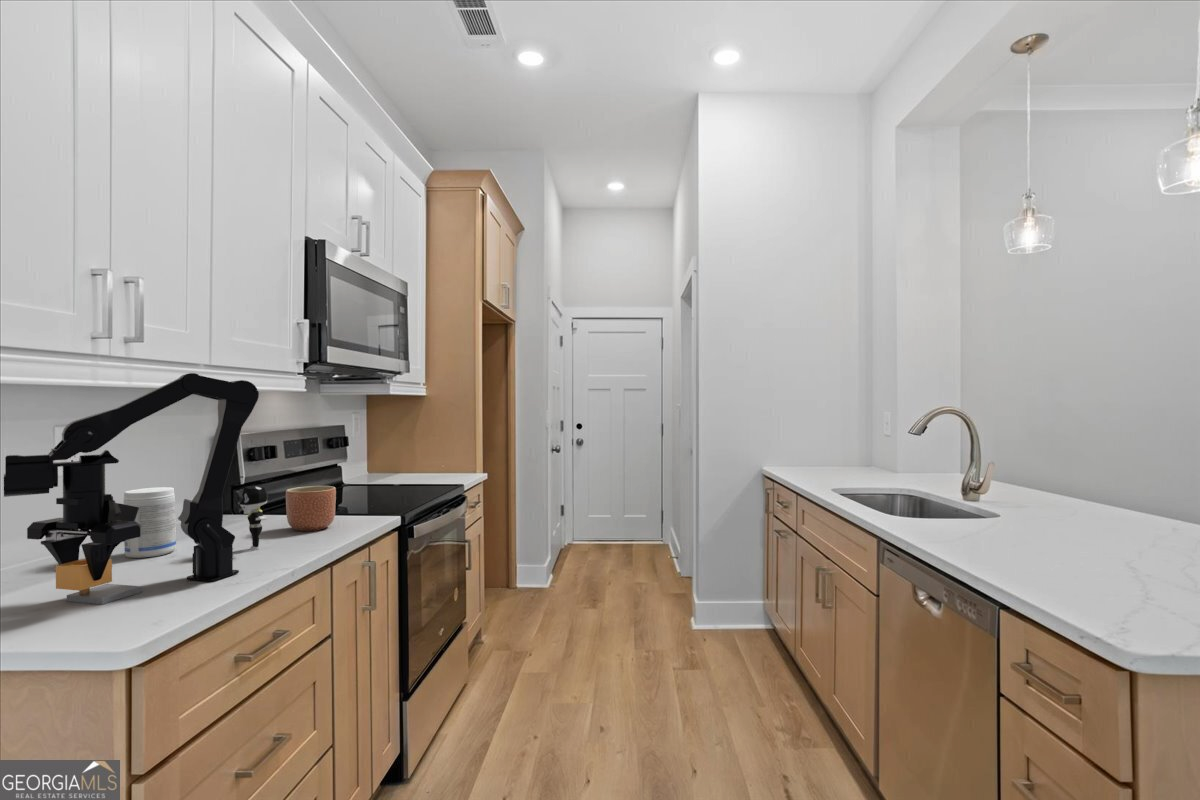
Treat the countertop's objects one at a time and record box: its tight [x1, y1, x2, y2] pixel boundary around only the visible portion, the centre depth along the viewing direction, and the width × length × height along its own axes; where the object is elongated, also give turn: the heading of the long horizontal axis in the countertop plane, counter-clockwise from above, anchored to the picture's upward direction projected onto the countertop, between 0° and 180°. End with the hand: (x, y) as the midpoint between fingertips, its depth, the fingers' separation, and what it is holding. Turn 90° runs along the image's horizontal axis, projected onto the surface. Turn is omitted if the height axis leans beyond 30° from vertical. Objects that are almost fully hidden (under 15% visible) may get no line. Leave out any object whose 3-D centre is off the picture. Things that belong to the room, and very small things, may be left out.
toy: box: [239, 484, 269, 551], centre depth 144 cm, size 13×6×15 cm, turn 42°
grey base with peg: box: [66, 583, 143, 605], centre depth 109 cm, size 8×7×6 cm
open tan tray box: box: [55, 558, 113, 592], centre depth 108 cm, size 5×5×4 cm
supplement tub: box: [122, 486, 177, 559], centre depth 140 cm, size 10×10×15 cm
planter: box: [285, 485, 337, 532], centre depth 167 cm, size 12×12×11 cm
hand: (84, 579), depth 108 cm, fingers closed on open tan tray box, 5 cm apart
